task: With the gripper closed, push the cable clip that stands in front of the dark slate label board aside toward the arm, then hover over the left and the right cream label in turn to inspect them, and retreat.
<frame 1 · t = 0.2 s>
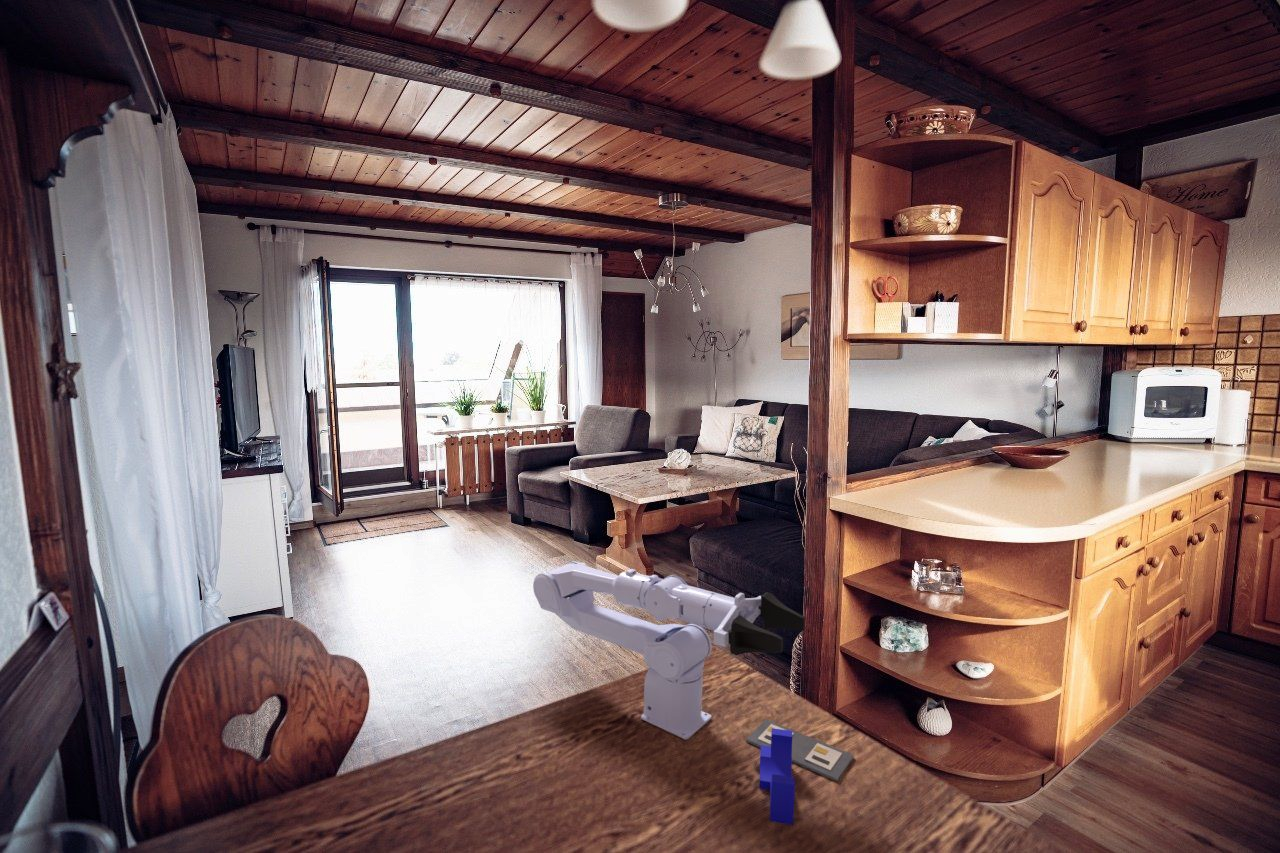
hand: (793, 634, 93), 22 cm above the table, tool horizontal, fingers open, 7 cm apart
label board: (798, 749, 100), on the table
cable clip: (775, 793, 91), on the table
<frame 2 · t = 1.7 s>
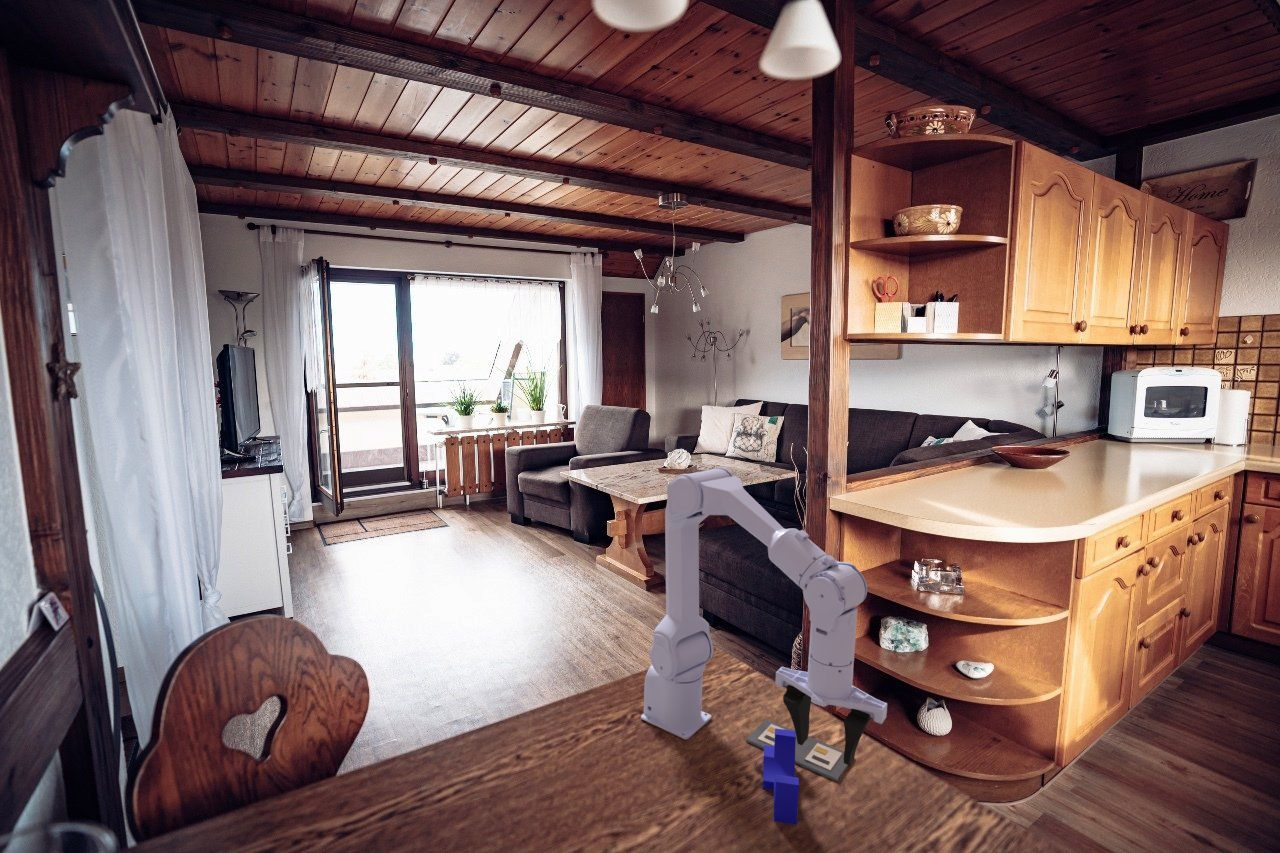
hand: (825, 750, 86), 9 cm above the table, tool pointing down, fingers open, 6 cm apart
nothing on the table moved.
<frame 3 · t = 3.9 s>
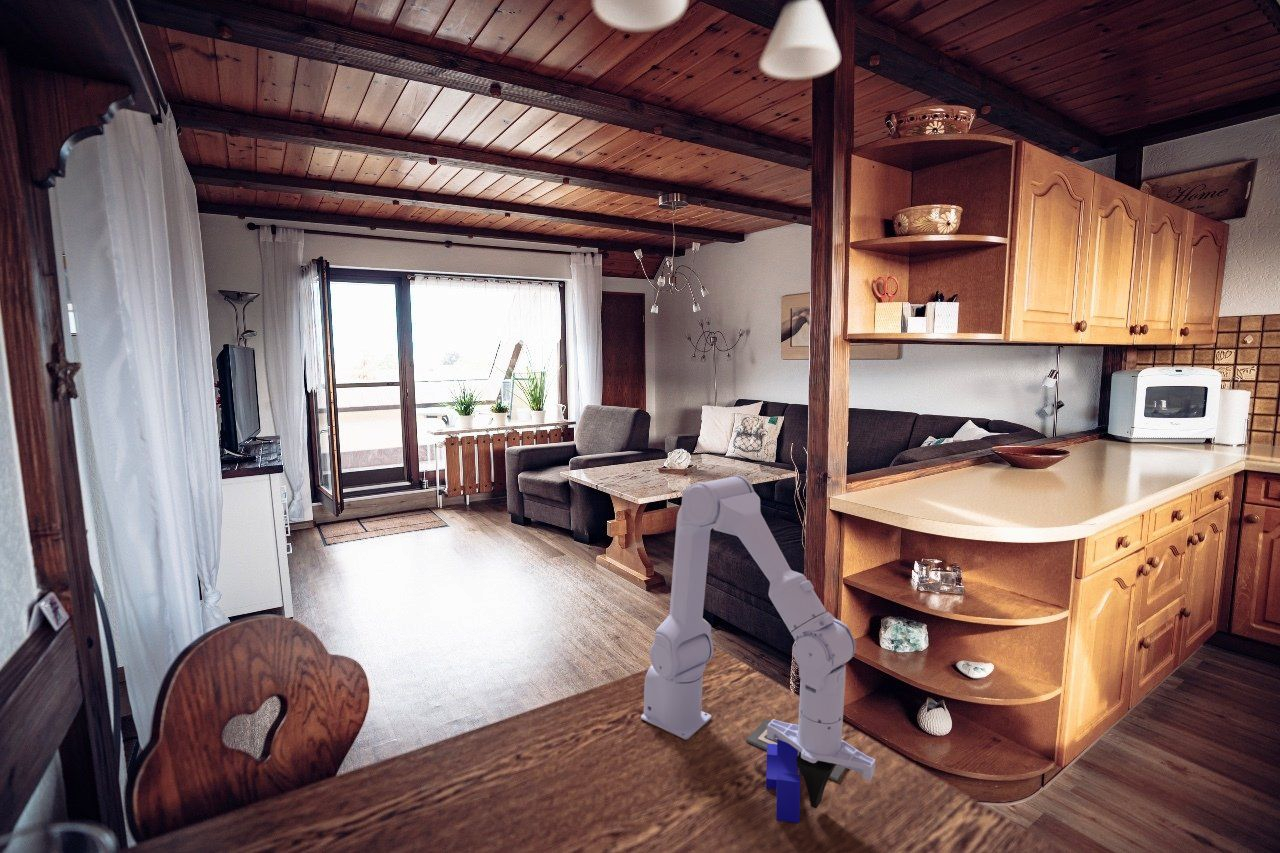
hand: (815, 803, 87), 1 cm above the table, tool pointing down, fingers closed
cable clip: (781, 791, 91), on the table, touching gripper
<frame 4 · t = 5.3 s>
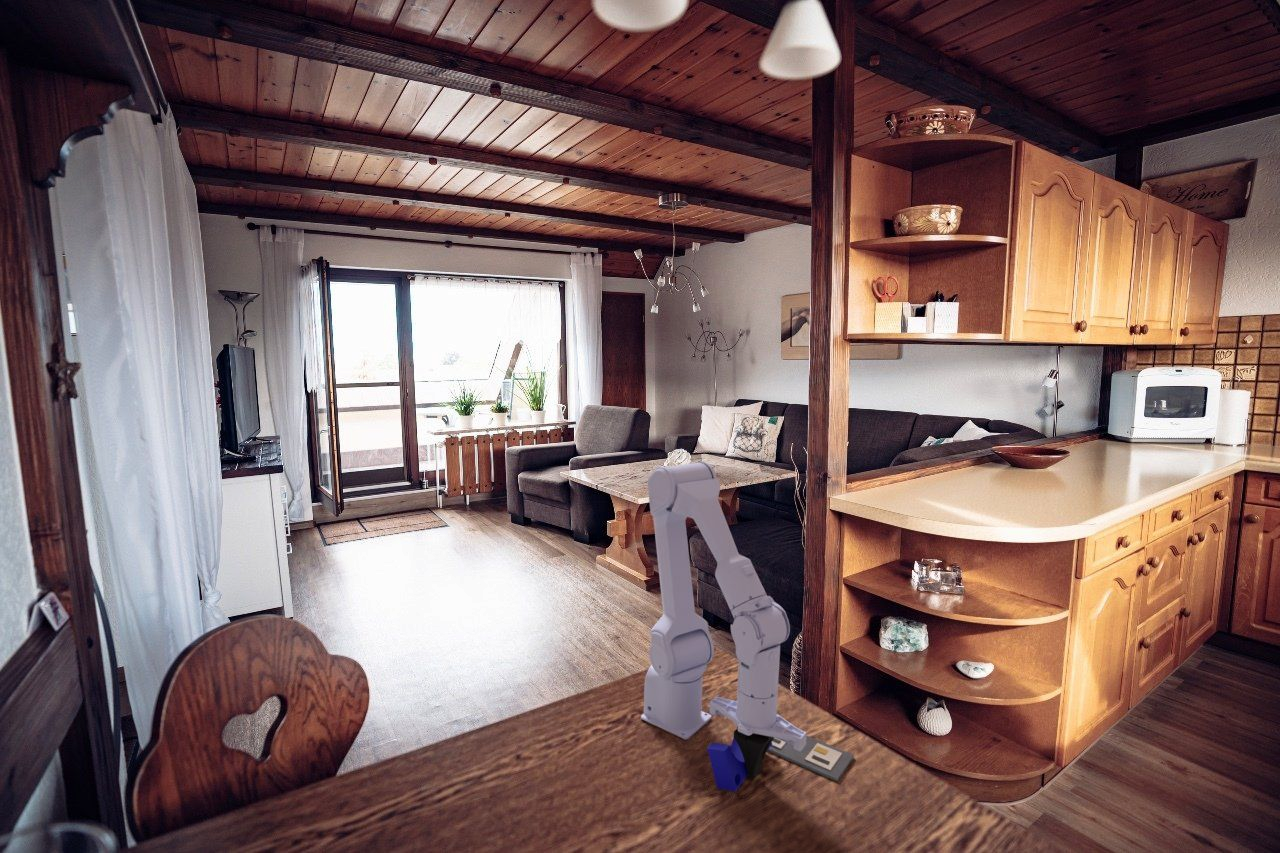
hand: (753, 774, 93), 1 cm above the table, tool pointing down, fingers closed
cable clip: (741, 765, 96), on the table, touching gripper
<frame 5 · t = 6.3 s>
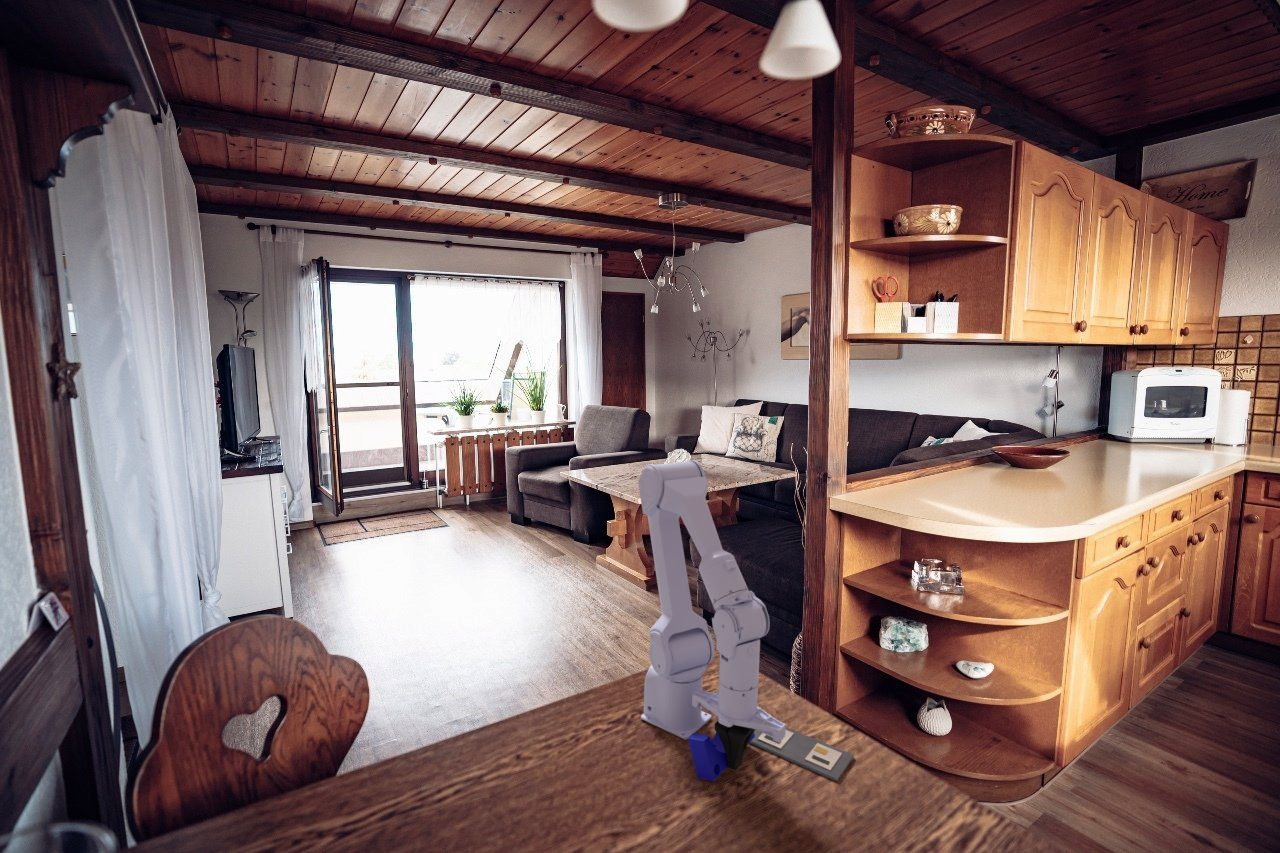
hand: (734, 765, 95), 1 cm above the table, tool pointing down, fingers closed
cable clip: (723, 756, 98), on the table, touching gripper
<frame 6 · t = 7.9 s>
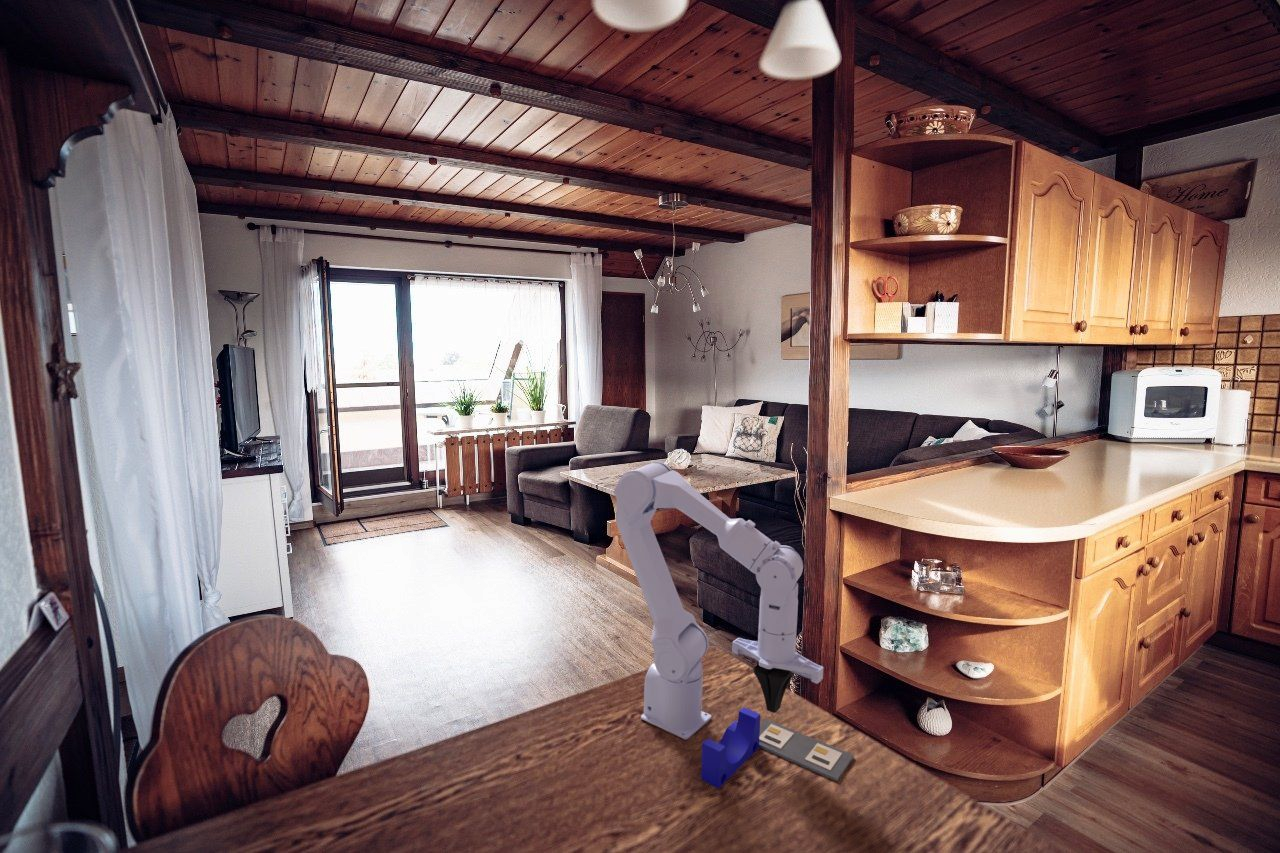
hand: (773, 708, 99), 7 cm above the table, tool pointing down, fingers closed
cable clip: (726, 763, 97), on the table
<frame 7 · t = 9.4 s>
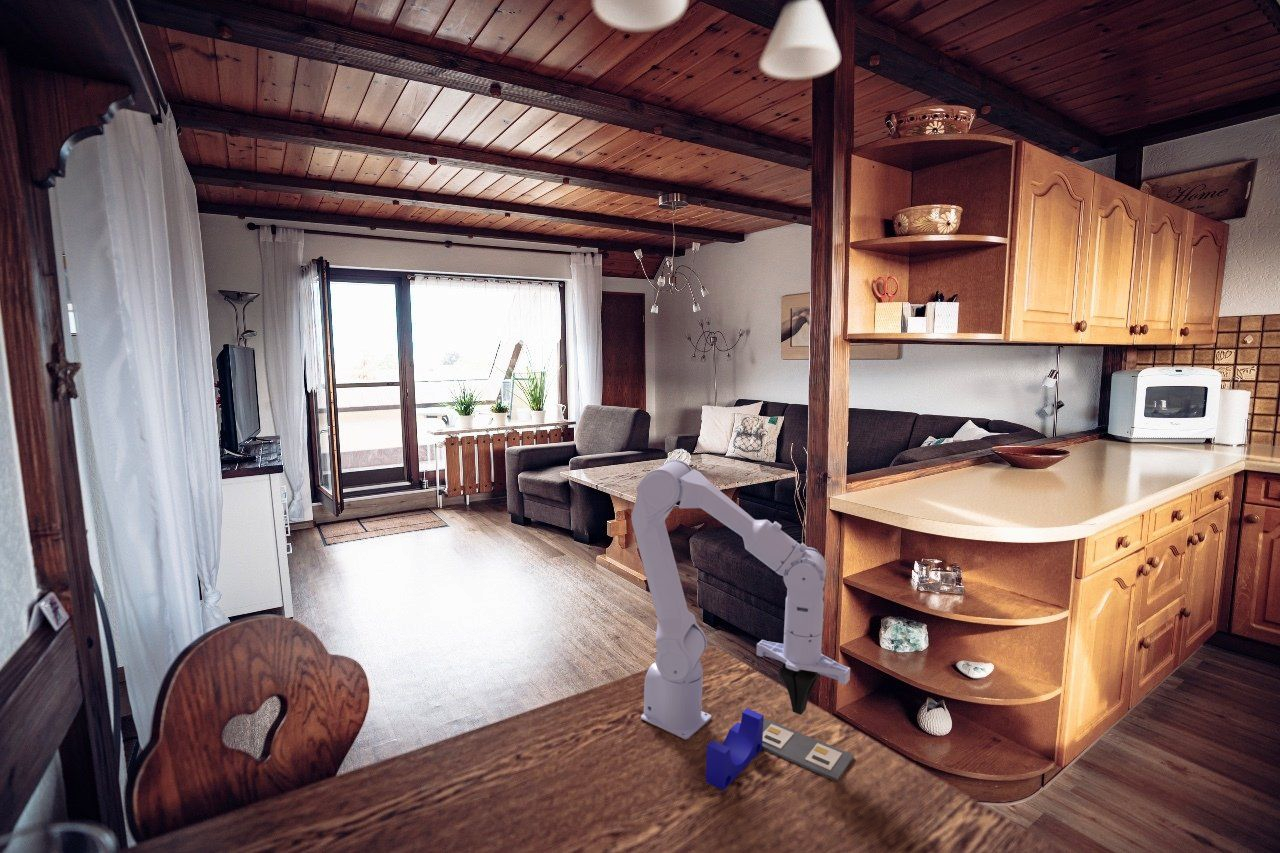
hand: (799, 710, 100), 7 cm above the table, tool pointing down, fingers closed
nothing on the table moved.
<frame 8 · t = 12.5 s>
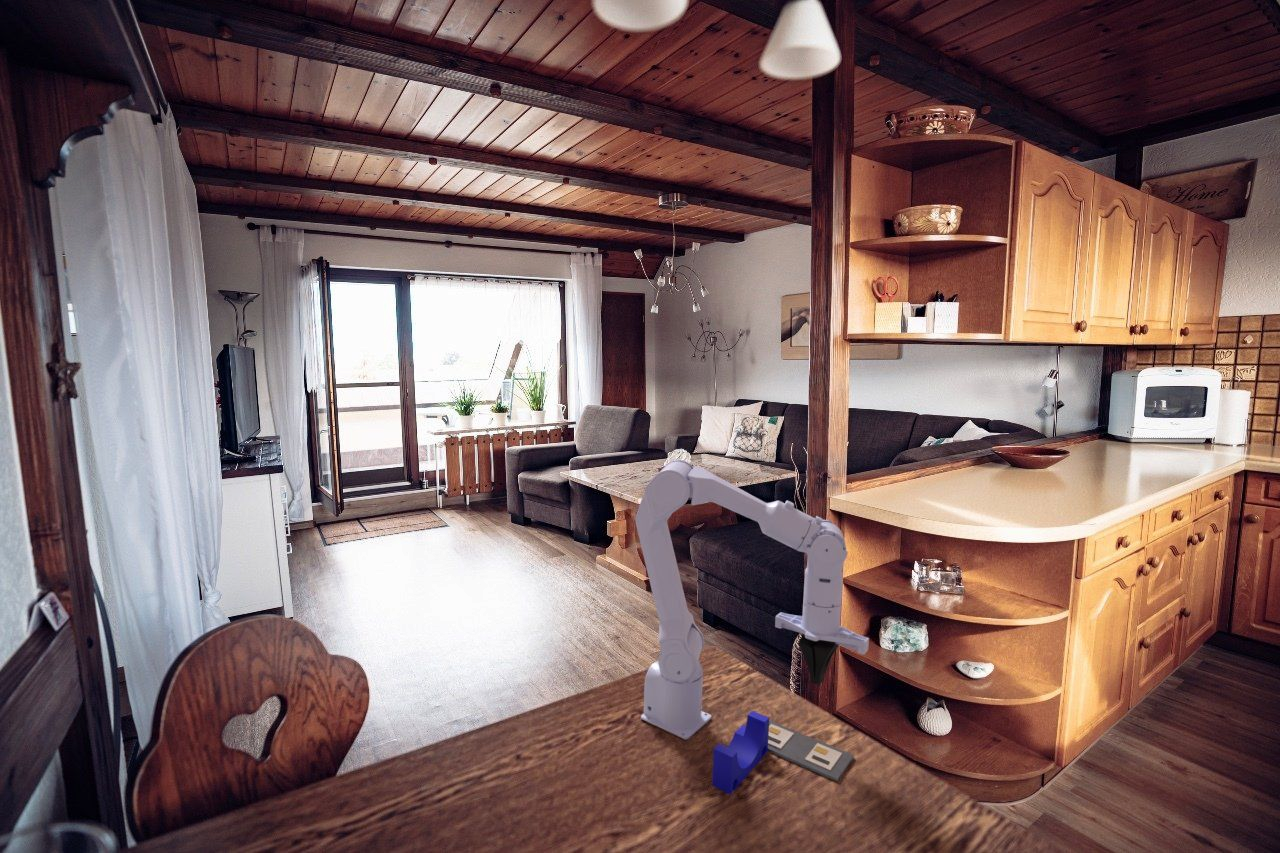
hand: (817, 681, 101), 10 cm above the table, tool pointing down, fingers closed
cable clip: (736, 768, 96), on the table
at the end: cable clip moved 7.0 cm from its start; cable clip inside the target area (3.7 cm from its centre), on the table; cable clip touching table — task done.
